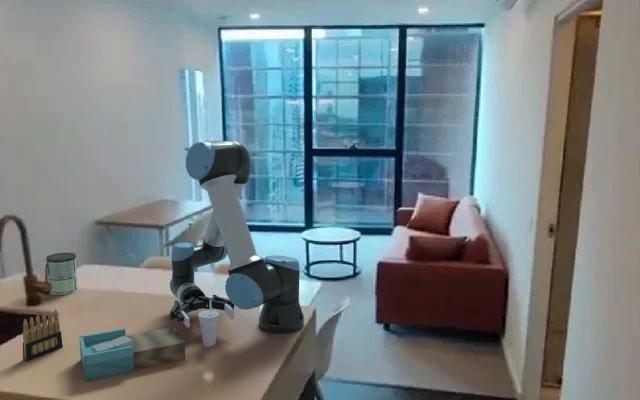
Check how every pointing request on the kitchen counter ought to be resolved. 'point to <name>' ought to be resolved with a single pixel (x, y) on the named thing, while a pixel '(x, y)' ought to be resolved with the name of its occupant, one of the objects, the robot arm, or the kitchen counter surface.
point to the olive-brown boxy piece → (157, 347)
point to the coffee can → (62, 273)
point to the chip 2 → (122, 342)
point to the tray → (105, 356)
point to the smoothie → (209, 326)
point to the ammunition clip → (41, 336)
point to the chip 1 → (102, 347)
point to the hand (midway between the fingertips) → (211, 318)
